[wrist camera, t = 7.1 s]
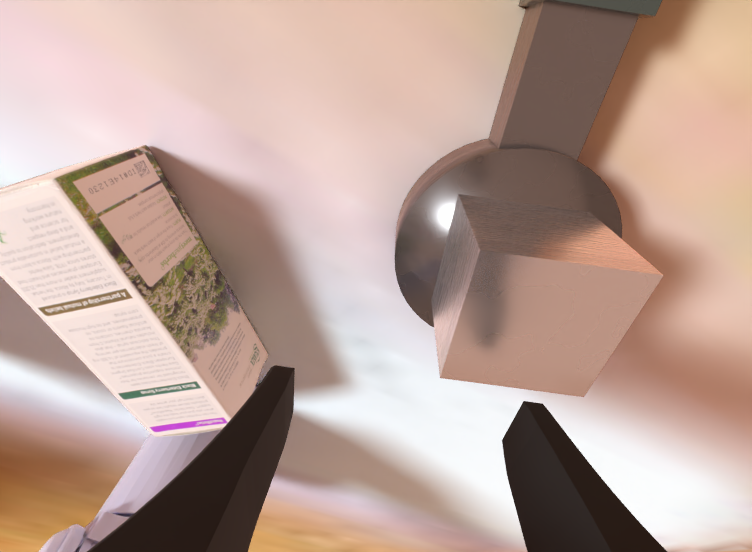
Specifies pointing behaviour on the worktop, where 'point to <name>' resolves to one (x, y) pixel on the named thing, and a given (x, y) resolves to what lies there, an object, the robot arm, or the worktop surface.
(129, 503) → the robot arm
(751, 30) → the worktop surface
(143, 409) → the syrup box
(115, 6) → the worktop surface
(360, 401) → the worktop surface
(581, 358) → the beige small block
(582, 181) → the ratchet
